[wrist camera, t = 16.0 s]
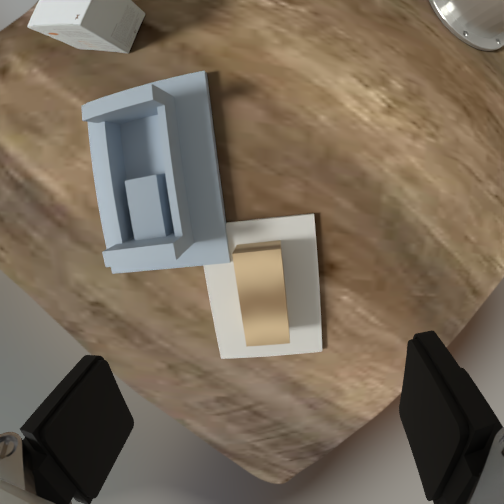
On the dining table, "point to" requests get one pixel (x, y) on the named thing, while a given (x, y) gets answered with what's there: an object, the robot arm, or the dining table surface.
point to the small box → (89, 23)
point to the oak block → (262, 293)
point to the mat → (296, 283)
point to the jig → (158, 176)
